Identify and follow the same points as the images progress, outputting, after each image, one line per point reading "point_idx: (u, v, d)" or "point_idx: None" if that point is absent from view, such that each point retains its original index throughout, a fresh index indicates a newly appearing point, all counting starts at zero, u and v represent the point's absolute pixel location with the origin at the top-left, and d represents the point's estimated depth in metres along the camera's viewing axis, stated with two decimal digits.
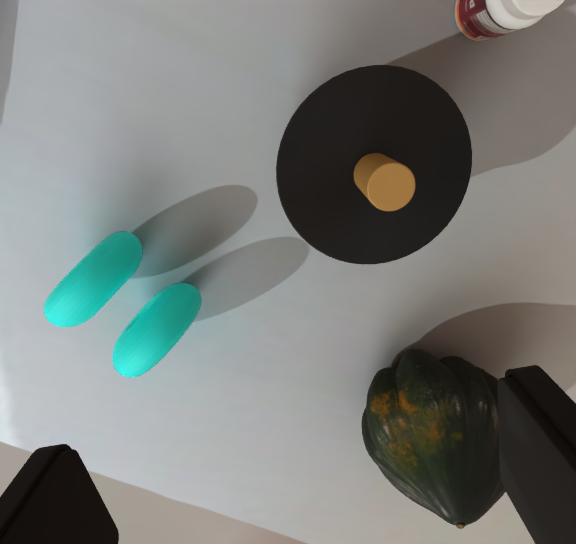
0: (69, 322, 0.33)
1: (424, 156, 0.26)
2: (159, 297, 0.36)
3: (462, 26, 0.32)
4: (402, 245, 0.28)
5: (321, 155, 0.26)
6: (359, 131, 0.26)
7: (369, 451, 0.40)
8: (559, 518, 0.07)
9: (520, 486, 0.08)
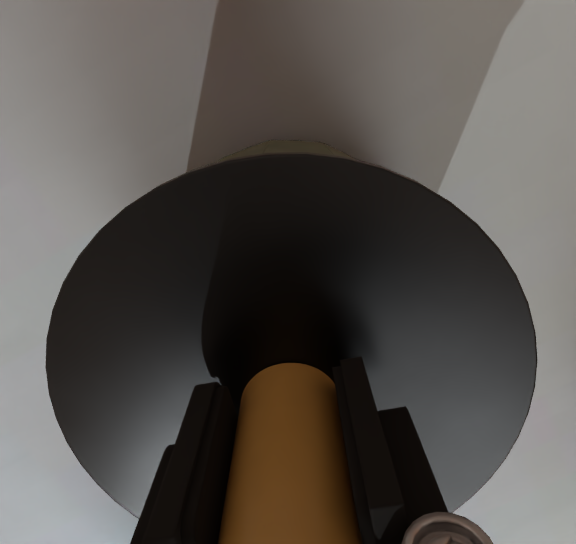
0: None
1: (336, 293, 0.10)
2: None
3: None
4: (488, 434, 0.11)
5: None
6: (185, 381, 0.11)
7: None
8: None
9: None
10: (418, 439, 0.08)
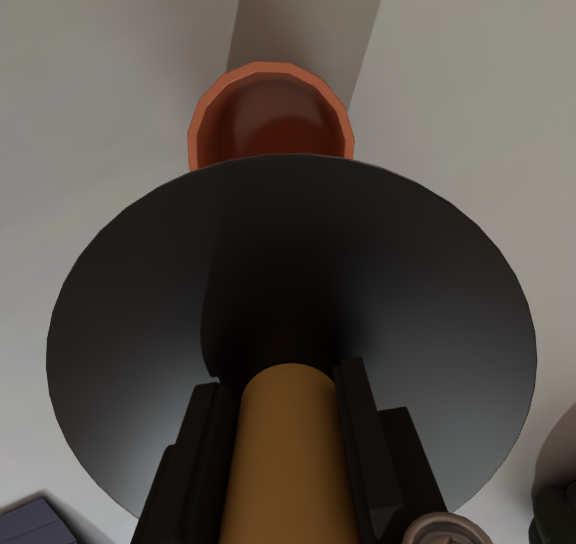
0: None
1: (336, 294, 0.10)
2: None
3: None
4: (488, 435, 0.11)
5: None
6: (185, 381, 0.11)
7: None
8: None
9: None
10: (418, 439, 0.08)
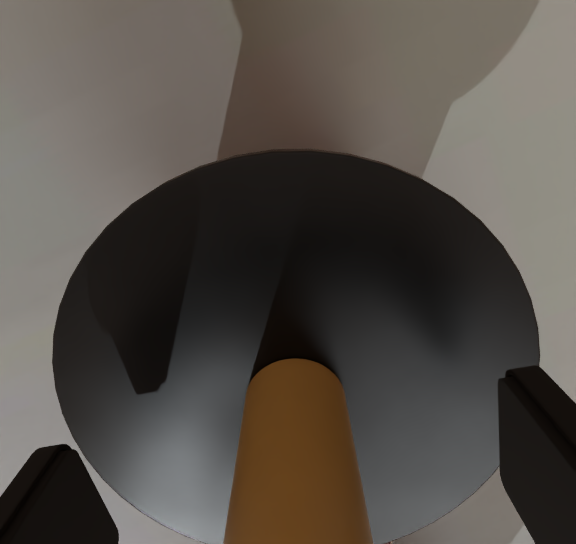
0: None
1: (340, 289, 0.10)
2: None
3: None
4: (491, 430, 0.11)
5: (189, 456, 0.12)
6: (190, 376, 0.11)
7: None
8: (559, 518, 0.07)
9: (521, 486, 0.08)
10: None
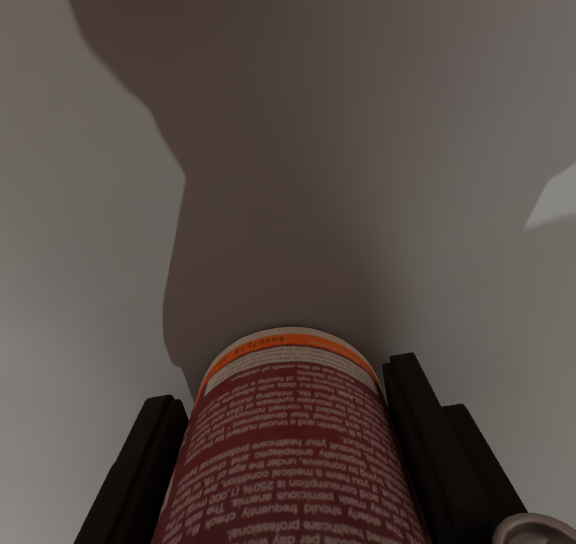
0: None
1: None
2: None
3: None
4: None
5: None
6: None
7: None
8: (412, 480, 0.08)
9: None
10: (482, 437, 0.08)
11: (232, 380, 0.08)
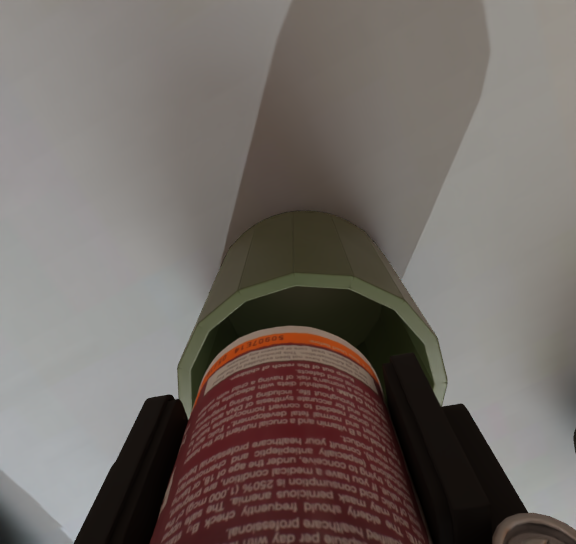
0: None
1: None
2: None
3: None
4: None
5: None
6: None
7: None
8: None
9: None
10: (482, 437, 0.08)
11: (232, 379, 0.08)
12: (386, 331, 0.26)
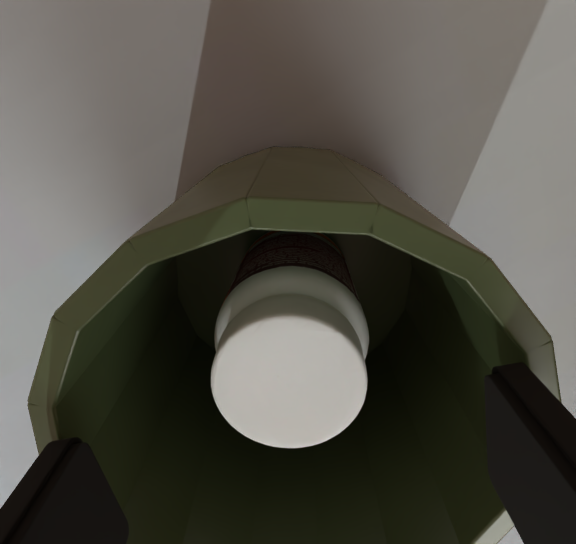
0: None
1: None
2: None
3: None
4: None
5: None
6: None
7: None
8: (541, 511, 0.07)
9: (506, 480, 0.08)
10: None
11: (264, 241, 0.16)
12: (417, 329, 0.17)
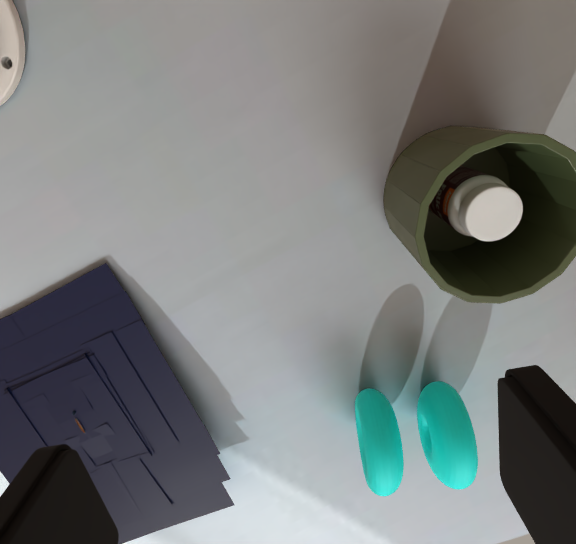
0: (396, 488, 0.38)
1: None
2: (428, 416, 0.39)
3: None
4: None
5: None
6: None
7: None
8: (559, 518, 0.07)
9: (521, 486, 0.08)
10: None
11: None
12: None
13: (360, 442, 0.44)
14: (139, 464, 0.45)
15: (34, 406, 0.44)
